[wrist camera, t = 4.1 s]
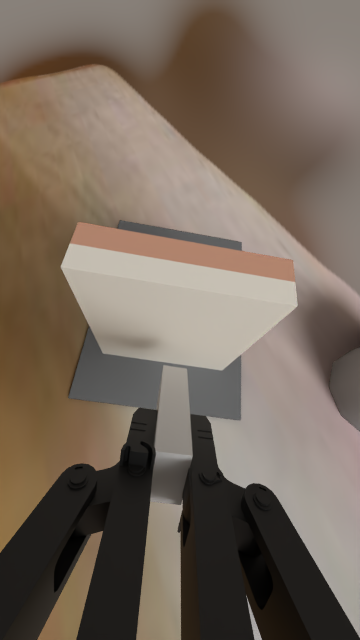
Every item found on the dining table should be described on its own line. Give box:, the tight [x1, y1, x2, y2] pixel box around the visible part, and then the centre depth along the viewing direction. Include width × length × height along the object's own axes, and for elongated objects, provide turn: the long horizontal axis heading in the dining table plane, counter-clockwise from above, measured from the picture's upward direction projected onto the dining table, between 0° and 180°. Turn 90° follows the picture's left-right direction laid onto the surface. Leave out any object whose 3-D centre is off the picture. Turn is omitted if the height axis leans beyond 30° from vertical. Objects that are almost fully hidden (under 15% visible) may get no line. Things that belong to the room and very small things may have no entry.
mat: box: [68, 220, 242, 420], centre depth 28 cm, size 22×16×1 cm
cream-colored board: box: [61, 222, 298, 370], centre depth 20 cm, size 3×12×14 cm, turn 84°
